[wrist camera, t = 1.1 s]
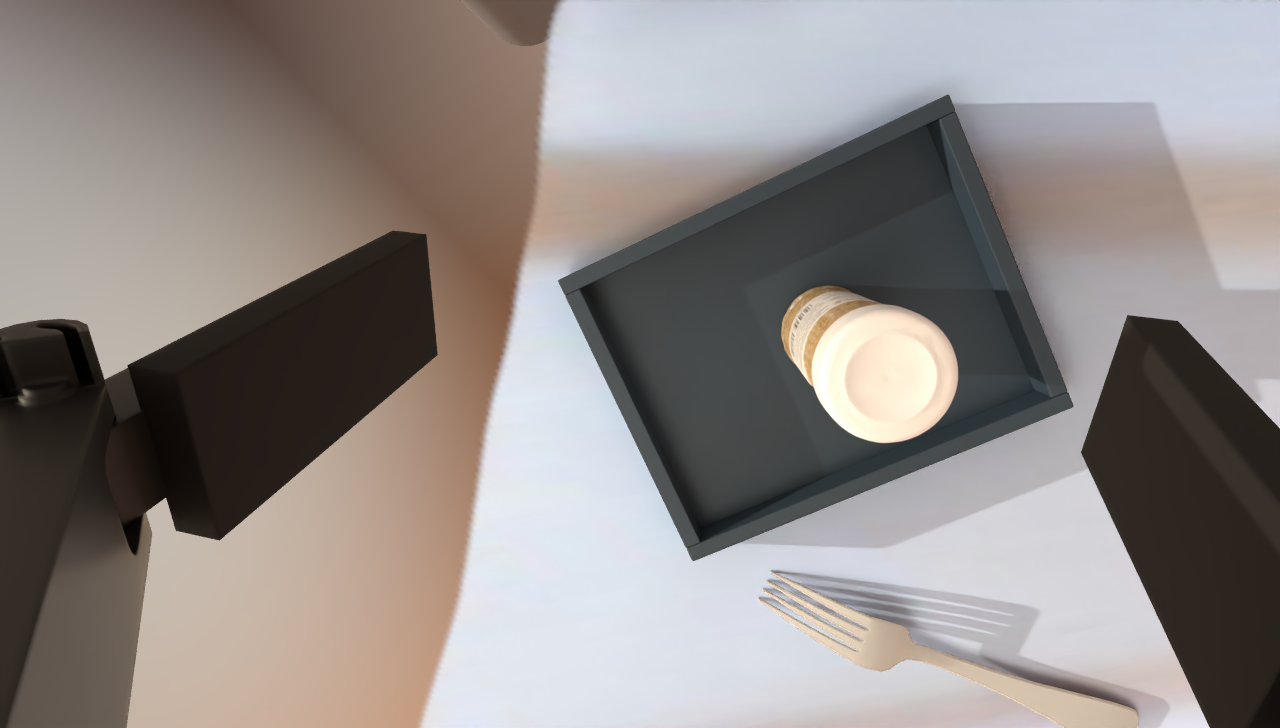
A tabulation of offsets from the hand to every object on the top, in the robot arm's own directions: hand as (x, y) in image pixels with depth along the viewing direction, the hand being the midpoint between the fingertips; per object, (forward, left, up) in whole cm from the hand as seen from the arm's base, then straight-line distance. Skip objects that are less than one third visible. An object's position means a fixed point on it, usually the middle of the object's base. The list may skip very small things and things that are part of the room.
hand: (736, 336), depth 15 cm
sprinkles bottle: (+5, +4, -24) cm, 25 cm away
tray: (+5, +3, -24) cm, 25 cm away
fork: (+24, +3, -25) cm, 34 cm away
